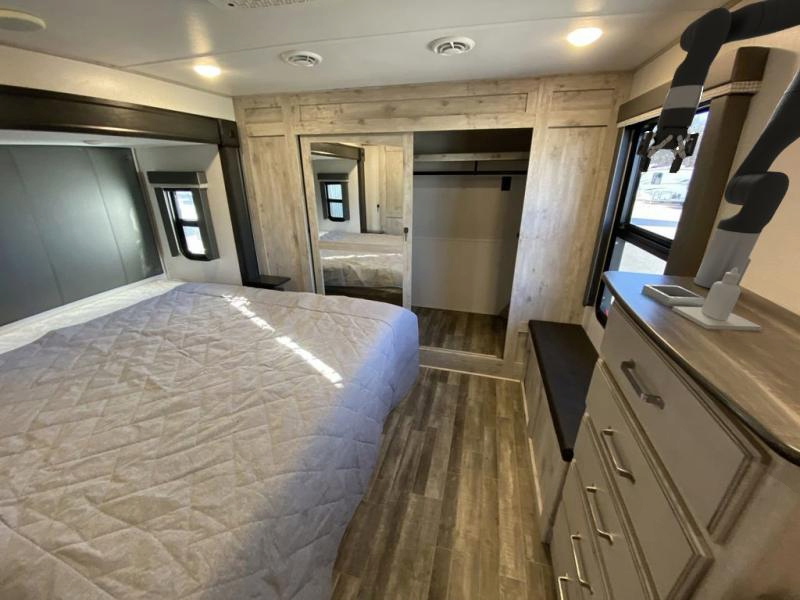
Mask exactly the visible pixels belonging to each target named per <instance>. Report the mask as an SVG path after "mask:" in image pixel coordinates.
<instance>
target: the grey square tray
mask: <svg viewBox="0 0 800 600" xmlns="http://www.w3.org/2000/svg"><path fill="white" fill-rule="evenodd" d="M641 292H642V293H641V294H643V293H644V294H643V295H645V296H647V297H649V298H651V299H653V300H654V301H655V302H658V303H660V304H661V305H663V306H665V307H672V308H673V306H676V307H703V305H704V302H705V300H706V298H707V297H704V296H701V295H700V294H698V293H695V292H693V291H690V290H689V289H686V288H684V287H682V286H679V285H671V284H670V285H668V284H664V285H663V284H643V287H642V289H641ZM671 295H673V296H671Z"/></svg>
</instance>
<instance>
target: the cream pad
mask: <svg viewBox="0 0 800 600" xmlns="http://www.w3.org/2000/svg"><path fill="white" fill-rule="evenodd" d="M701 309H702V307H676V306H673V307H672V309H671V310H672V311H673V312H675V313H676V314H679V315H680V316H682V317H684V318H686V319H687V320H689V321H691V322H693V323H694V324H696V325H699V326H700V327H702V328H703V329H706V330H729V331H730V330H731V331H732V330H734V331H755V332H756V331H758V332H759V331H761V329H762V326H761V325H759V324H756V323H754V322H752V321H750V320H748V319H746V318H743V317H741V316H739V315H738V314H735V313H732V312H731V313H730V315H729V317H728V319H727V320H725V321H724V320H716V319H713V318H711V317H708V316H707V315H705V314H704V313H702V311H701Z"/></svg>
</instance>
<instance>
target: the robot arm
mask: <svg viewBox="0 0 800 600" xmlns="http://www.w3.org/2000/svg"><path fill="white" fill-rule="evenodd" d="M798 26H800V0H760V1H755V2H753V3H749V4H746V5H744V6H741V7H740V8H738V9H736V10H733V11H730V10H729V9H728V8H726V7H716V8H713V9H711V10H709V11H708V12H706V13H705V14H703V15H701V16H700V17H699V18H697V19H695V20H694V21H693V22H691V23H690V24H689V25H688V26H686V28H685V29H684V31H683V32H682V34H681V36H680V38H679V47H680V49H681V50H682V51H683V52H686V55H685V58H684V60H683V61H682V62H681V63H679V65H678V66H677V67H676V69H675V71H674V73H673V77H672V79H671V82H670V83H671V84H670V86H669V89H668V91H667V95H666V96H665V98H664V101H663V105H662V109H661V111H660V114H659V118H658V120H657V124H656V130H655V132H654V131H652V130H651V131H645V132H643V134H642V137H641V138H640V142H639V145H638V147H637V149H636V155H637V156H640V157H641V162H640V164H639V168H638V169H639V172H640V173H647V172H648V170H649V168H650V164H651V161H652V157H653V156H654V155H655V154H656V153H657V152H658V151H660V150H668V151H669V150H670V152H671V153H672V154H673V157H674V159H673V160H672V163H671V165H670V167H669V171H668V173H669V174H677V173H678V172H679V171H680V169H681V168H682V167H681V166H682V164H683V161H684V159H686V158H689V157H692V156H694V153H695V150H696V146H697V142H698V140H699V136H700V133H699V132H691V133H688V131H689V129H690V127H691V126H692V124H693V122H694V119H695V115H696V113H697V110H698V107H699V105H700V101H701V98H702V94H703V90H704V86H705V83H706V81H707V79H708V75H709V71H710V69H711V66H712V64H713V62H714V60H715V59H716V57H717V56H718V54H719V52H720V50H721V48H722V46H723V45H726V44H729V43H733V42H737V41H739V42H741V41H746V40H750V39H754V38H759V37H760V38H761V37H763V36H768V35H771V34H777V33H779V32H781V31H782V32H783V31H785V30H788V29H792V28H795V27H798ZM799 138H800V66H799V67H798V69H797V71H796V73H795V74H794V75H793V78H792V80H791V81H790V83H789V85H788V86H787V88H786V90H785V91H784V93H783V95H782V96H781V98H780V100H779V102H778V103H777V105H776V107H775V108H774V110H773V112H772V114H771V115H770V117H769V120H768V122H767V123H766V125H765V126H764V128H763V130H762V132H760V135H759V136H758V137H757V140H756V141H755V143H754V144H753V146H752V148H751V149H750V151H749V152H748V154H747V155H746V156H745V158H744V159H743V160H742V162H741V164H740V165H739V166H738V168H737V169H736V171H735V172H734V173H733V175H732V176H731V178H730V179H729V181H728V182H727V185H726V187H725V190H724V194H723V195H724V200H725V202H727V203H728V204H730V205H737V206H741V208H740V210H739V211H738V213H736V214H734V215H733V216H728V217H724V218H721V219H720V220H719V222H718V223H717V226H716V229H715V231H714V233H713V236H712V238H711V241H710V243H709V244H708V247H707V250H706V252H705V254H704V257H703V258H702V261H701V264H700V266H699V269H698V271H697V273H696V276H695V277H694V280H693V283H694V284H696V285H697V286H701V287H704V288H708V289H711V287H712V285H713V284H714V283H715V282H719V281H722V280H723V278H724V276H725V273H726V272H731V271H732V269H733V268H738V272H737V273H738V274H739V275H740V278H739V280H738V282H737V284H736V285H737V286H738V287H739V286H740V284H741V282H742V279H743V278H744V276H745V273H746V272H747V269H748V267H749V265H750V264H751V261H752V260H751V258H750V256H751V253H752V252H753V250H754V248H755V245H756V244H757V241H758V239H759V237H760V235H761V233H762V232H763V230H764V228H765V227H766V226H767V225H768V224H769V223H770V222H771V221H772V219H773V217H774V216H775V214H776V213H777V210H778V209H779V206H780V205H781V203H782V202H783V200H784V199H785V196H786V195H787V191H788V189H789V187H790V178H789V175H787V174H786V173H784V172H783V171H774V170H773V171H771V170H770V168H771V166H772V164H773V163H774V161H776V159H777V158H778V156H779V155H781V154H782V152H783V151H784V150H785V149H787V148H788V147H789V146H790V145H791V144H793V143H794V142H795V141H797V140H799ZM652 140H653V142H652V143H651V141H652ZM684 142H685V143H684Z"/></svg>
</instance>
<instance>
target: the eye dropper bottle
mask: <svg viewBox="0 0 800 600" xmlns="http://www.w3.org/2000/svg"><path fill="white" fill-rule="evenodd" d="M737 272H738V268H733V269H732V271H731V272H726V273H725V276H724V278H723V280H722V281H719V282H715V283H714V284H713V285H712V287H711V288H709V292H708V293H707V296H706V297H705V298H706V300H705V302H704V305H703V307H702V309H701V311H702V313H704V314H705V315H707V316H708V317H711V318H713V319H716V320H724V321H725V320H727V319H728V317H729V315H730V313H732V311H733V309H734V308H735V305H736V303H737V301H738V299H739V297H740V294H741V292H742V291H741V289H740V287H739V286H737V285H736V284H737V282H738V280H739V278H740V275H739V274H738V273H737Z"/></svg>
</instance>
